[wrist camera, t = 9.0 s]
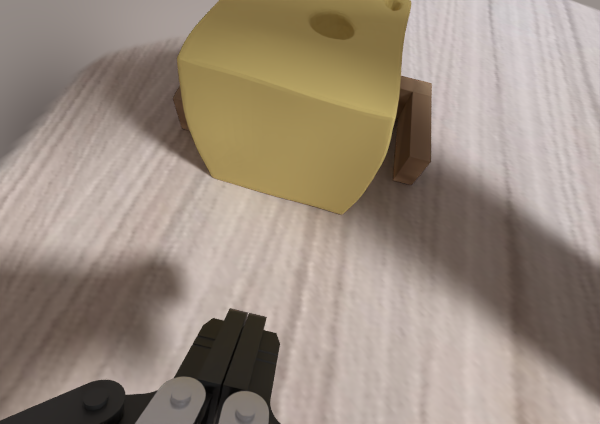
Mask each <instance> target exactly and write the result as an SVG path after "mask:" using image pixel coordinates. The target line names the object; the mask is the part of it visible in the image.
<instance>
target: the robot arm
mask: <svg viewBox="0 0 600 424" xmlns="http://www.w3.org/2000/svg"><path fill="white" fill-rule="evenodd" d="M247 315H248V317H247ZM266 318H267V317H264V316H260V315H256V314H252V313H249V314H248V312H243V311H239V310H235V309H231V308H230V309H229V311H228V313H227V315H226V318H225V320H224V321H223V320H219V319H215V318H213V319H211V320H210V321H208V322H207V323H206V324H204V325H203V326H202V328H201V330H200V332H199V334H198V336H197V337H196V339H195V341H194V343H193V345H192V346H191V348H190V350H189V352H188V353H187V355H186V357H185V359H184V361H183V362H182V364H181V366H180V368H179V370H178V371H177V373H176V375H175V377H174V378H173V379H171V380H169V381H167V382H166V383H164V384H163V385H162V386H161V387H160V388H159V390H157V391H155V392H151V393H146V394H133V395H125V391H124V388H123V387H122V386H121V385H120V384H119V383H117V382H115V381H112V380H98V381H93V382H90V383H88V384H85V385H83V386H80V387H78V388H76V389H73V390H71V391H69V392H66V393H64V394H62V395H59V396H57V397H55V398H52V399H50V400H48V401H45V402H43V403H41V404H38V405H36V406H33V407H31V408H29V409H26V410H24V411H22V412H19V413H17V414H15V415H12V416H10V417H8V418H5V419H3V420H1V421H0V424H280V423H279V422H278V421H277V419H276V418H275V417H274V415H273V413H272V410H271V407H270V398H271V393H272V387H273V381H274V375H275V369H276V363H277V358H278V352H279V346H280V342H279V340H278V337H277V334H276V333H273V332H269V331H265V330H264V326H265V322H266Z"/></svg>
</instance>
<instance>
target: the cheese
mask: <svg viewBox="0 0 600 424" xmlns="http://www.w3.org/2000/svg"><path fill="white" fill-rule="evenodd" d="M410 9H411V1H410V0H219V1H218V2H217V3H216V4H215V6H213V8H212V9H211V10H210V11H209V12H208V13H207V14H206V15H205V16H204V17H203V18H202V19H201V21H200V22H199V23H198V24H197V25H196V26H195V27H194V29H193V30H192V31H191V33H190V34H189V36H188V37H187V39H186V41H185V42H184V44H183V46H182V48H181V50H180V52H179V55H178V57H177V65H178V74H179V82H180V88H181V96H182V102H183V108H184V113H185V117H186V121H187V125H188V128H189V130H190V133H191V135H192V138H193V140H194V143H195V145H196V147H197V150H198V152H199V154H200V156H201V157H202V159H203V161H204V163H205V165H206V166H207V168H208V170H209V172H210V174H211V176H212V177H213V178H215V179H218V180H222V181H225V182H229V183H232V184H235V185H239V186H242V187H245V188H248V189H252V190H255V191H259V192H262V193H266V194H269V195H273V196H276V197H280V198H284V199H288V200H292V201H295V202H299V203H303V204H307V205H311V206H314V207H318V208H321V209H324V210H328V211H331V212H334V213H338V214H344V213H345V212H346V211H347V210H348V209H349V208H350V207H351V206H352V205H353V204H354V203H355V202H357V200H358V199H359V198H360V197H361V196H362V194H363V193H364V192H365V190H366V189H367V187H368V186H369V184H370V183H371V181H372V180H373V178H374V177H375V175H376V173H377V172H378V170H379V168H380V166H381V164H382V163H383V161H384V159H385V156H386V153H387V151H388V147H389V144H390V140H391V135H392V130H393V126H394V122H395V118H396V113H397V107H398V101H399V93H400V81H401V64H402V51H403V43H404V37H405V31H406V26H407V22H408V18H409V14H410Z"/></svg>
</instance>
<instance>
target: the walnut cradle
mask: <svg viewBox="0 0 600 424" xmlns="http://www.w3.org/2000/svg"><path fill="white" fill-rule="evenodd" d="M431 95H432V83H428V82H424V81H420V80H416V79H412V78H408V77H404V76H401V81H400V93H399V101H398V107H397V113H396V118H395V119H398V120H397V132H396V145H395V158H394V171H393V181H397V182H401V183H405V184H409V185H412V184H413V183H414V182H415V180H416V179H417V178H418V177H419V176H420V174H421V173H422V172H423V171H424V170H425V168H426V167H427V166H428V165H429V164H430V162H431ZM173 101H174V104H175V107H176V111H177V114H178V117H179V121H180V124H181V127H182V129H186V130H189V128H188V125H187V121H186V117H185V113H184V108H183V102H182V96H181V88H180V86H179V88H178V90H177V91H176V93H175V95H174V97H173Z"/></svg>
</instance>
